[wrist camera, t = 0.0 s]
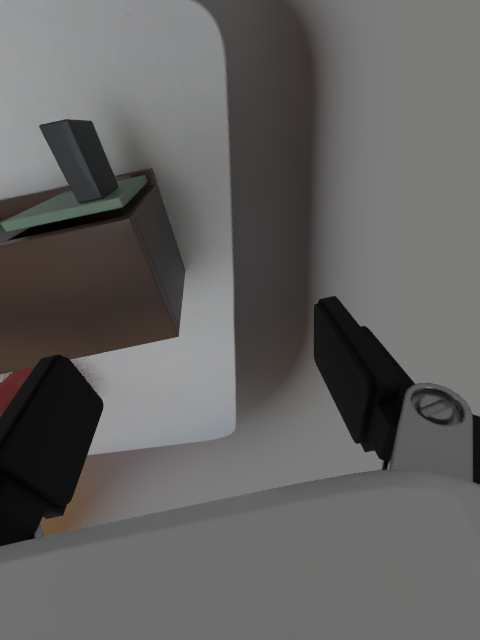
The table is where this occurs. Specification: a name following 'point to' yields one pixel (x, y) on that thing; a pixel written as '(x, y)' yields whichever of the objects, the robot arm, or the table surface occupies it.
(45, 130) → the sliding door
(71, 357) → the cupboard
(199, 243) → the table surface
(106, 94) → the table surface
